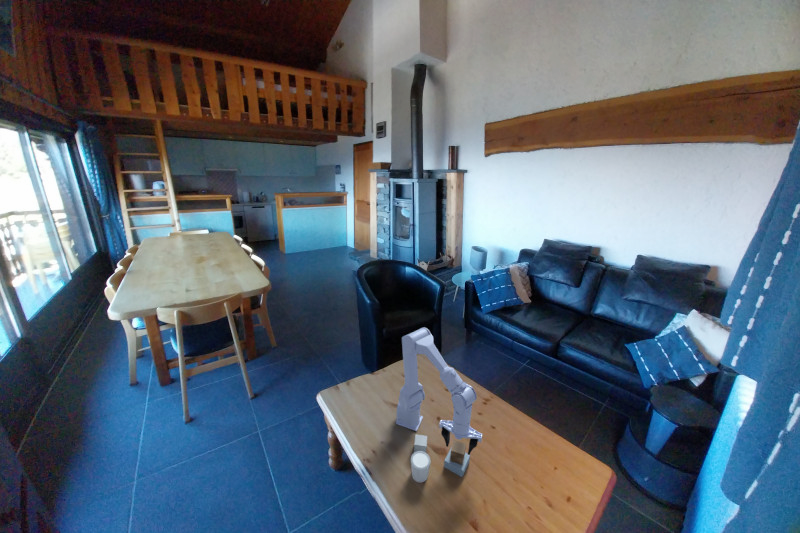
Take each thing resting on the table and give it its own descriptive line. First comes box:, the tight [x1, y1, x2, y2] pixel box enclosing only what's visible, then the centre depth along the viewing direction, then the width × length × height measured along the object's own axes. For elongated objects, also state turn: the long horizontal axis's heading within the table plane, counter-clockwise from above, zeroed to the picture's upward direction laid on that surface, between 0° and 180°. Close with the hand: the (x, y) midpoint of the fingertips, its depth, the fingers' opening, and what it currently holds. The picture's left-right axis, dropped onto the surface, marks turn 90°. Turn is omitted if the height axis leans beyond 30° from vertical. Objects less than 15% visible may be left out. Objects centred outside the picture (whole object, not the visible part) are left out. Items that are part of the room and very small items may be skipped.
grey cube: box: [413, 434, 428, 454], centre depth 113 cm, size 4×4×5 cm
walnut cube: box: [450, 439, 467, 465], centre depth 107 cm, size 4×4×5 cm
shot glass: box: [410, 451, 432, 483], centre depth 104 cm, size 7×7×7 cm
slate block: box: [443, 446, 471, 478], centre depth 108 cm, size 7×7×4 cm
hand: (458, 448), depth 106 cm, fingers open, 7 cm apart
